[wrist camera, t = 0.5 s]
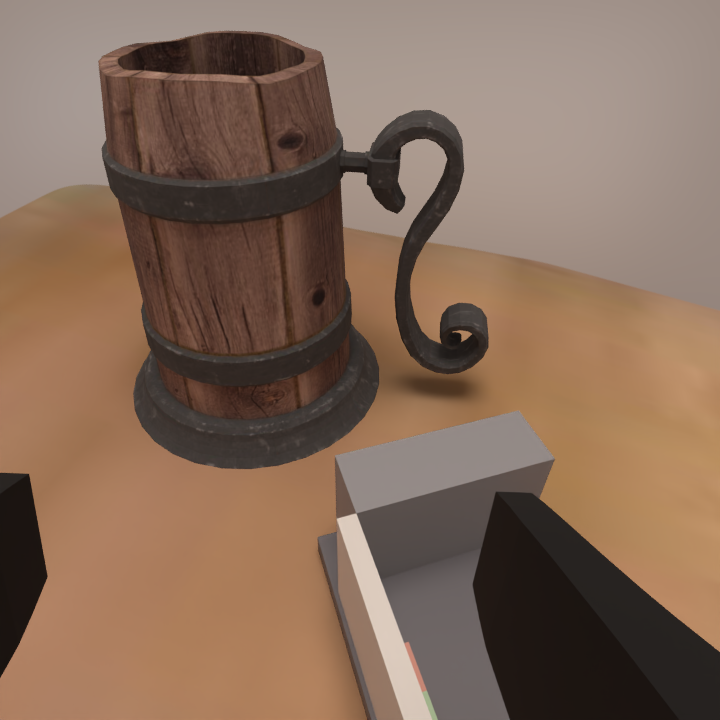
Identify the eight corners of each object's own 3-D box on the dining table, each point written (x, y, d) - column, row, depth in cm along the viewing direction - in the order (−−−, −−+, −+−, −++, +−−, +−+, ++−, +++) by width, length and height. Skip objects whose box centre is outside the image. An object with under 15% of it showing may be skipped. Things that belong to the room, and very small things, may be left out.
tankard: (84, 453, 32) (-95, 91, 19) (187, 295, 45) (121, 13, 32) (481, 497, 30) (583, 128, 17) (471, 319, 43) (525, 29, 30)
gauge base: (847, 1036, 16) (1054, 1058, 11) (523, 1256, 13) (619, 1406, 9) (507, 495, 30) (537, 406, 26) (318, 549, 28) (312, 461, 23)
